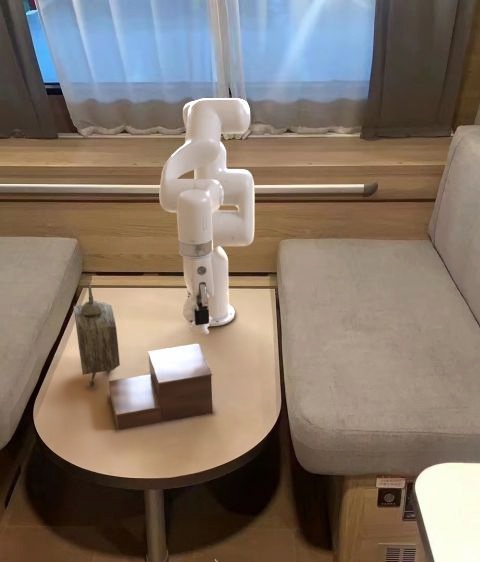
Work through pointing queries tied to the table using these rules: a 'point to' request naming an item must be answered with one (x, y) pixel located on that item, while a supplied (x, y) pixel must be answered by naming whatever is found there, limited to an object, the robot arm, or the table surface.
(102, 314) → the spike-topped wooden block
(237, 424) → the table surface
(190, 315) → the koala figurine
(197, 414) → the step shelf
